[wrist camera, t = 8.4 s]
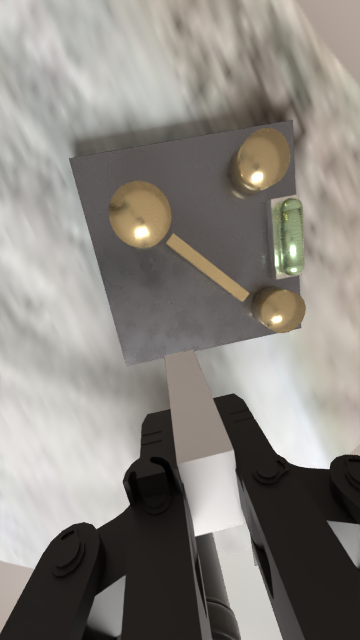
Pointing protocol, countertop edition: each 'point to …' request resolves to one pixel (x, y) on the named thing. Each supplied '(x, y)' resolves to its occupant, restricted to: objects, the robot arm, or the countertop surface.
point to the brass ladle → (158, 229)
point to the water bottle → (216, 591)
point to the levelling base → (201, 240)
